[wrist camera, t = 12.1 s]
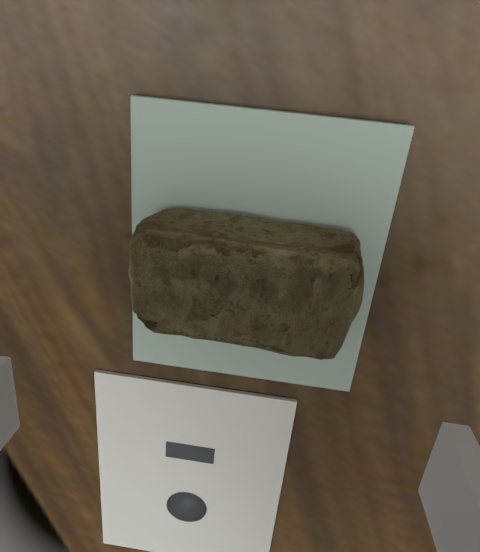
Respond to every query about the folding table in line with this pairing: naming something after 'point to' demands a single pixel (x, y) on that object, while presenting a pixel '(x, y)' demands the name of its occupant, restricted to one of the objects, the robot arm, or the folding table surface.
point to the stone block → (246, 281)
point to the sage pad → (266, 204)
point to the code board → (189, 464)
